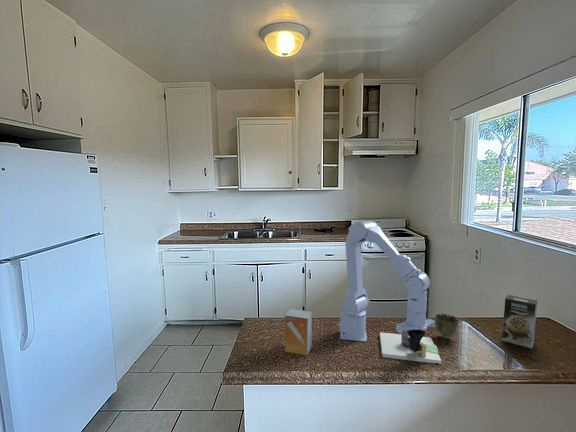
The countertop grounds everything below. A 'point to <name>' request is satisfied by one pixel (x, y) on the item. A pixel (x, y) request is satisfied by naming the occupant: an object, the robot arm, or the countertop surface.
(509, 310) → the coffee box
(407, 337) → the grey and tan piece
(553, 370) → the countertop surface
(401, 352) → the dial board
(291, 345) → the small box
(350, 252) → the robot arm
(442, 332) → the olive rounded piece
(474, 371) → the countertop surface
